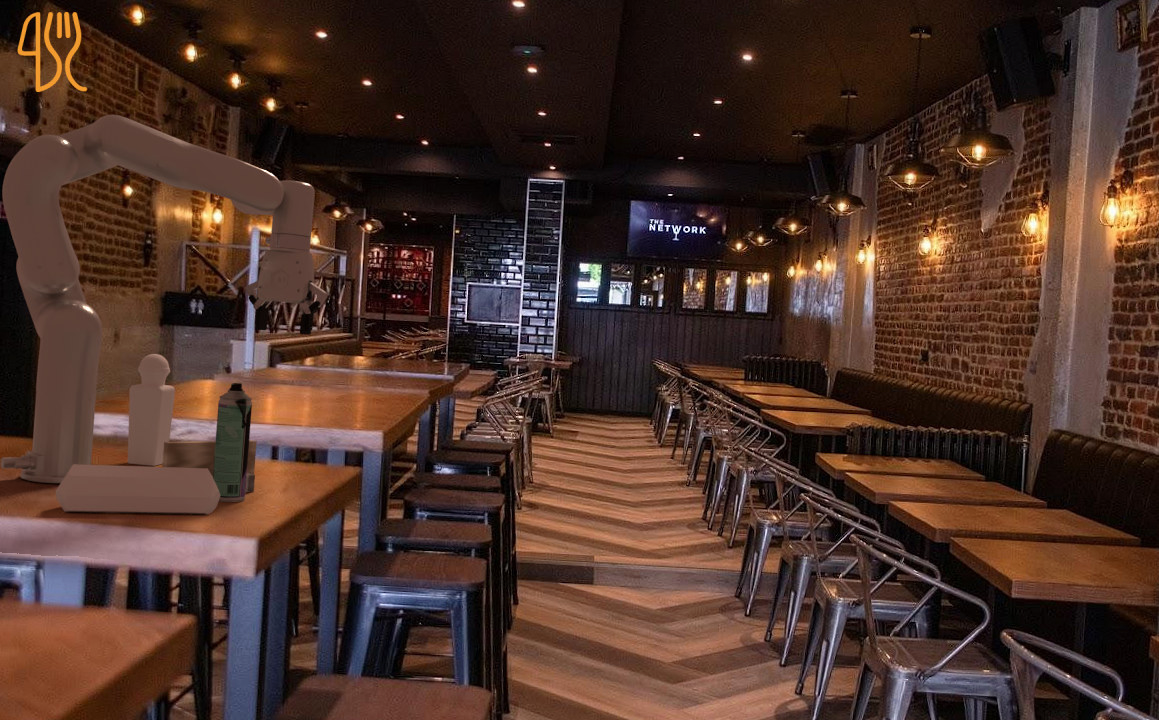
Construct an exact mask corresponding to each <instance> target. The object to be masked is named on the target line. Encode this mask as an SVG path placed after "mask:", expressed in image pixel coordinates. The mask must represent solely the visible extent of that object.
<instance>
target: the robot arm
mask: <svg viewBox="0 0 1159 720" xmlns="http://www.w3.org/2000/svg"><path fill="white" fill-rule="evenodd" d="M114 167H121V168H124V169H127V170H129V171H132V172H135V173H138V174H141V175H143V176H144V177H145V176H146V177H148V178H151V179H153V180H156V181H159V182H161V183H163V184H165V185H168V186H171V187H174V188H178V189H182V190H190V191H199V192H206V193H209V194H212V195H217V196H220V197H223V198H225V199H228V200H230V201H231V203H232V205H233V206H234V207H235V208H236V209H237V210H238V211H239V212H241V213H243V214H245V215H252V216H253V215H254V216H255V215H257V216H259V215H261V216H262V215H263V216H266V215H267V216H272V221H271V230H270V231H271V233H270V237H266V238H265V240H264V241H265V245H269V249H265V251H264V255H263V257H262V261H261V264H260V265H261V266H260V270H259V274H258V280H255V281H254V282H252V283H249V284H248V285H246V286H245V291H246V294H247V297H248V300H249V302H250V303H251V304H252V305H253V309H254V310H255V316H254V317H255V318H254V326H255V330H256V331H266V330H267V329H268V318H269V311H268V309H267V308H268V307H269V306H270V305H271V303H272V302H280V303H288V304H289V303H292V304H299V307H300V308H301V309H302V311H303V313H301V315H300V326H299V334H300V335H308V336H310V335H311V333H312V330H313V328H314V326H313V325H314V316H315V315H316V314H317V312H318V311H319V310H320V309H321V308H322V307H323V306H324V303H325V301H326V300H327V298H328V296H329V294H328V292H327V291H325V290H323V289H322V288H320V287H319V286H318V285H316V283H315V265H314V259H313V257H314V256H313V253H312V254H311V242H312V241H311V240H312V229H313V217H314V207H315V205H314V204H315V196H316V195H315V193H316V192H315V189H314V186H312V185H311V184H310V183H307V182H303V181H297V180H289V179H288V180H279V179H278V177H277V176H275V175H274V174H273V173H272V172H269V171H267V170H265V169H262V168H259V167H257V166H255V165H252V164H250V163H248V162H246V161H243V160H241V159H238V158H235V157H233V156H229V155H226V154H223V153H220V152H216V151H213V150H210V149H208V148H205V147H202V146H200V145H196V144H192V143H189V142H187V141H184V140H182V139H179V138H178V137H174V136H171V135H169V134H168V133H165V132H162V131H160V130H157V129H155V128H153V127H150V126H148V125H146V124H142V123H140V122H138V121H136V120H133V119H131V118H128V117H125V116H121V115H119V114H106V115H104V116H101V117H99V118H97V120H95V121H94V122H92V123H91V124H87V125H86V126H83V127H80V128H78V129H74V130H70V131H69V132H65V133H62V134H58V135H56V134H43V135H39V136H37V137H34V138H33V139H31V140H30V141H29V142H28V143H26V144H25V145H24V146H23V147H22V148H21V149H20V150H19V151H18V152H17V153H16V154H15V155H14V156H13V158H12V159H11V161H10V163H9V164H8V167H7V169H6V171H5V175H4V179H3V182H2V183H3V184H2V203H3V208H4V212H5V216H6V219H7V222H8V226H9V230H10V234H11V236H12V240H13V243H14V247H15V249H16V254H17V256H18V258H17V260H16V274H17V278H18V282H19V285H20V287H21V291H22V293H23V297H24V300H25V301H26V302H25V303H26V305H27V308H28V311H29V314H30V316H31V319H32V323H33V325H34V328H35V332H36V333H37V335H38V337H39V339H40V342H39V353H38V354H39V355H38V363H37V372H36V373H37V375H36V384H35V385H36V386H35V388H36V389H35V390H36V392H35V394H36V395H35V406H34V407H35V408H34V421H33V433H32V434H33V437H32V450H27V451H26V452H25V453H26V454H21V456H20V457H17V456H16V457H14V456H8V457H5V456H4V457H3V456H2V457H1V459H0V468H1V469H15V470H17V469H20V470H21V471H20V478H21V479H23V480H25V481H29V482H33V483H34V482H35V483H43V484H45V483H46V484H61V482H62V481H63V479H64V478H65V476H66V474H67V473H68V471H69V470H70V468H71V467H72V465H73V464H77V465H92V456H93V455H92V452H93V441H94V439H93V438H94V426H95V414H96V399H97V398H96V397H97V396H96V395H97V381H98V369H99V360H100V354H101V348H102V341H103V326H102V321H101V319H100V316H99V314H98V313H97V312H96V310H94V308H93V307H92V306H90V305H89V304H87V301H86V298H85V295H84V292H83V289H82V286H81V284H80V280H79V277H80V273H81V272H80V271H81V268H80V267H81V266H80V262H79V259H78V257H77V255H76V253H75V249H74V247H73V245H72V242H71V239H70V235H69V233H68V231H67V230H68V229H67V227H66V224H65V221H64V216H63V213H62V210H61V209H62V208H61V206H60V191H61V188H62V186H64V185H67V184H70V183H73V182H75V181H79V180H82V179H84V178H87V177H92V176H93V175H97V174H99V173H102V172H104V171H107V170H110V169H112V168H114ZM314 295H316V299H315V301H313V299H314ZM312 301H313V302H312Z"/></svg>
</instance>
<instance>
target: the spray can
mask: <svg viewBox="0 0 1159 720" xmlns="http://www.w3.org/2000/svg"><path fill="white" fill-rule="evenodd" d="M252 400H253V398H252V397H250V396H249V395H248V394H246V393H245V390H244V388H243V384H242V383H241V382H233V383H231V385H230V388H229V389H227V392H225V393H224V394H222V395H220V396H219V400H218V401H217V402H218V403H217V404H218V405H217V414H216V415H217V417H216V418H217V419H216V432H215V441H216V443H215V456H214V470H213V479H214V481H215V483H216V485H217V487H218V490H219V493H220V498H219V501H218V502H222V503H238V502H244V501H245V499H246V493H247V492H246V478H247V465H248V451H249V440H250V437H251V424H252V423H251V421H252V412H253V411H252V410H253V409H252V408H253V402H252Z"/></svg>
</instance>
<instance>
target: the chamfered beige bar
mask: <svg viewBox="0 0 1159 720" xmlns="http://www.w3.org/2000/svg"><path fill="white" fill-rule="evenodd" d="M54 493H55V496H56V500H57V502H58V503H59V505H60V507H61V509H62V510H63V511H64V513H101V512H103V514H104V512H105V513H107V514H108V513H113V514H116V513H117V514H122V513H123V514H171V515H173V514H175V515H176V514H177V515H179V514H180V515H182V514H183V515H210V514H212V513H213V512H214V510H215V509H217V507H218V504H219V502H220V501H219V498H220V493H219V490H218V487H217V485H216V483H215V481H214V479H213V477H212V475H211V473H210V471H209V470H208V468H176V467H162V466H144V465H137V466H136V465H109V464H107V465H106V464H105V465H104V464H91V465H77V464H73V465H72V467H71V468H70V470H69V471H68V473H67V474H66V476H65V478H64V479H63V481H62V482H61V483H59V486H58V487H57V488H56V489H55V492H54Z"/></svg>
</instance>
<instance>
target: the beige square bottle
mask: <svg viewBox="0 0 1159 720" xmlns="http://www.w3.org/2000/svg"><path fill="white" fill-rule="evenodd" d="M137 367H138V368H137V372H138V373H139V374H140V377H141V378H140V379H141V382H140V384H134V385H133V384H132V385H131V386H130V387H129V394H128V395H129V398H128V434H127V435H128V436H127V437H128V438H127V439H128V440H127V464H129V465H137V466H147V467H157V466H159V465H163V451H164V442H170V440H171V439H170V438H171V429H172V421H173V412H174V406H175V405H174V404H175V403H174V402H175V395H176V389H175V387H174V386H173V385H166V379H167V378H168V375H169V374H170V373H171V368H170V366H169V361H168V360H167V359H166V358H165V356H163V355H161V354H158V353H151V354H148V355H146V356H145V357H143V358H142V359H141V361H140V363H139V366H137Z"/></svg>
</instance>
